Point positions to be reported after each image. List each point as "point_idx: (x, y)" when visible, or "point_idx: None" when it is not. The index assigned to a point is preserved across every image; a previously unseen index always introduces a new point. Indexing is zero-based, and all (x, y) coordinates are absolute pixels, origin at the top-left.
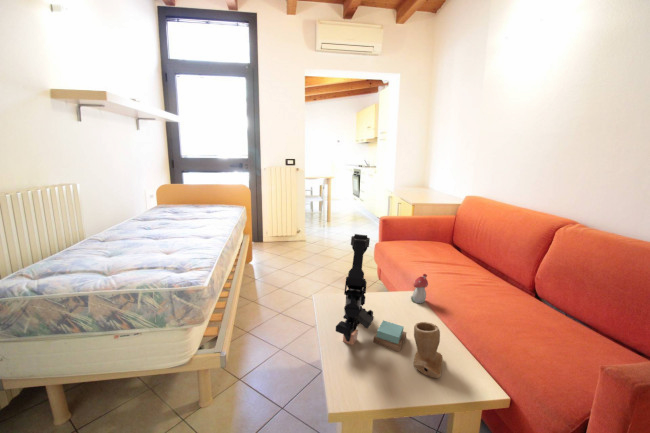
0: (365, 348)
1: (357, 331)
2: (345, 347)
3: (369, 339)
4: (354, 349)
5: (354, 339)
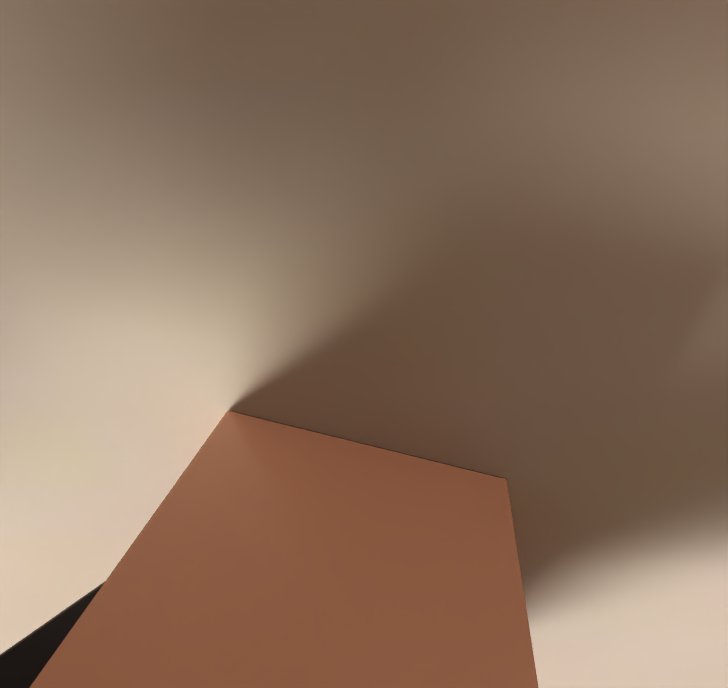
0: (558, 111)
1: (110, 656)
2: (645, 610)
3: (27, 64)
4: (688, 424)
5: (419, 550)
